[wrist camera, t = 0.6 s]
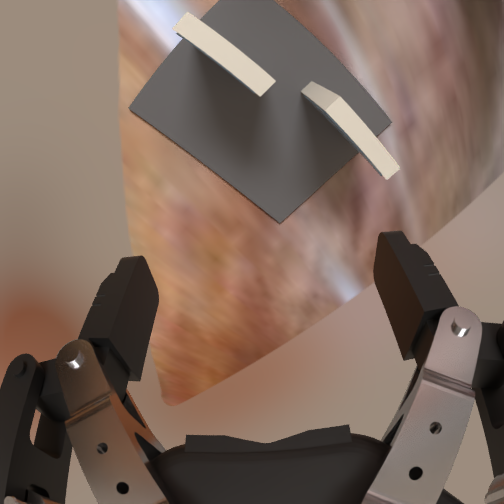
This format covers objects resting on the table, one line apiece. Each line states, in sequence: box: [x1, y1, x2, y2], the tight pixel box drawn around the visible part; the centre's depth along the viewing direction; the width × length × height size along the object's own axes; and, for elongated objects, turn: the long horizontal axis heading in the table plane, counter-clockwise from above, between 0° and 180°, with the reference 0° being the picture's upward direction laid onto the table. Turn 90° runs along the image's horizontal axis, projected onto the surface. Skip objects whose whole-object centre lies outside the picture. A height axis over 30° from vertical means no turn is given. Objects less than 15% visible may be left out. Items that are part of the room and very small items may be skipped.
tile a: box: [172, 12, 276, 97], centre depth 22 cm, size 2×8×10 cm, turn 48°
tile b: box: [301, 81, 400, 180], centre depth 26 cm, size 2×8×10 cm, turn 48°
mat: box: [129, 0, 392, 223], centre depth 30 cm, size 18×22×1 cm
